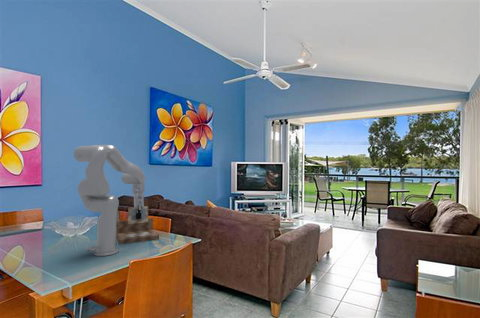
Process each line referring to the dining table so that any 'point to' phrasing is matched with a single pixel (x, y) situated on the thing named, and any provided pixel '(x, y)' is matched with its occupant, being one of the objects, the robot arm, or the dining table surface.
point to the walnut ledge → (135, 232)
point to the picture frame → (132, 215)
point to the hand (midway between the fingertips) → (138, 218)
